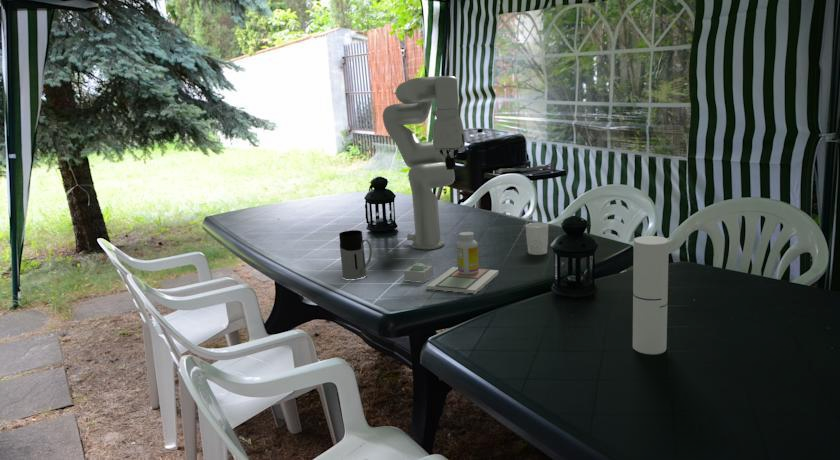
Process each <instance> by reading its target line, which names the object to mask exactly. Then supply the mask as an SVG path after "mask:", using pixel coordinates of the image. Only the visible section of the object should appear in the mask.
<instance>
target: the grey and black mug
mask: <svg viewBox="0 0 840 460" xmlns="http://www.w3.org/2000/svg"><path fill="white" fill-rule="evenodd" d="M338 237H339V250H340V251H339V252H340V261H341V270H342V276H341V278H342V277H343V278H345V279H357V278H361V277H364V276H366V275H367V274H368V272H367V266H368V265H369V263H370V262H371V259H372V256H373V255H372V253H373V251H372V249H373V247H372V244H371V242H370V240H368V239H363V231H361V230H358V229H357V230H355V229H352V230H345V231H341V232H339V235H338ZM365 241H366V242H367V243H368V248H369V256H368V260H367V262H366V255H365V254H366V253H365V245H364V242H365Z"/></svg>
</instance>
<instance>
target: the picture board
mask: <svg viewBox="0 0 840 460" xmlns="http://www.w3.org/2000/svg"><path fill="white" fill-rule="evenodd" d="M498 275H499V270H496V269H490V268H481V267H479V272H478V273H476V274H472V275H463V274H460V273H459V271H458V266H452V267H451V268H448V270H446V271H445V272H444V273H442V274H441V275H439V276H438V277H436V278H435V279H434V280H432V281H431V282H430V283H429V284H427V285H426V289H427V288H428V289H437V290H444V291H443V292H447V291H453V292H452V293H457V292H465V293H464V294H468V293H473V294H472V295H477V294H478V293H479V292H480V291H481V290H482V289H484V287H486V286H487V285H488V284H489V283H490V282H491V281H493V280H494V279H495V278H496V277H497V276H498ZM485 285H486V286H485ZM478 291H479V292H478ZM477 292H478V293H477ZM476 293H477V294H476Z"/></svg>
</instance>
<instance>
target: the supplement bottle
mask: <svg viewBox="0 0 840 460" xmlns="http://www.w3.org/2000/svg"><path fill="white" fill-rule="evenodd" d="M474 236H475V233H474V232H472V231H463V232H459V234H458V239H459V241H457V243H456V254H457V255H456V258H457V259H456V260H457V267H458V271H459V273H460V274H463V275H472V274H476V273H478V272H479V268H480V264H479V263H480V262H479V245H478V241H476V240H475V239H474Z"/></svg>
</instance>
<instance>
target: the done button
mask: <svg viewBox="0 0 840 460" xmlns="http://www.w3.org/2000/svg"><path fill="white" fill-rule="evenodd" d="M411 266H412V270H415V271H423V270H424V269H425V266H426V265H425V264H424V262H422V263H421V262H418V263H414V264H413V263H412V264H411Z"/></svg>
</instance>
